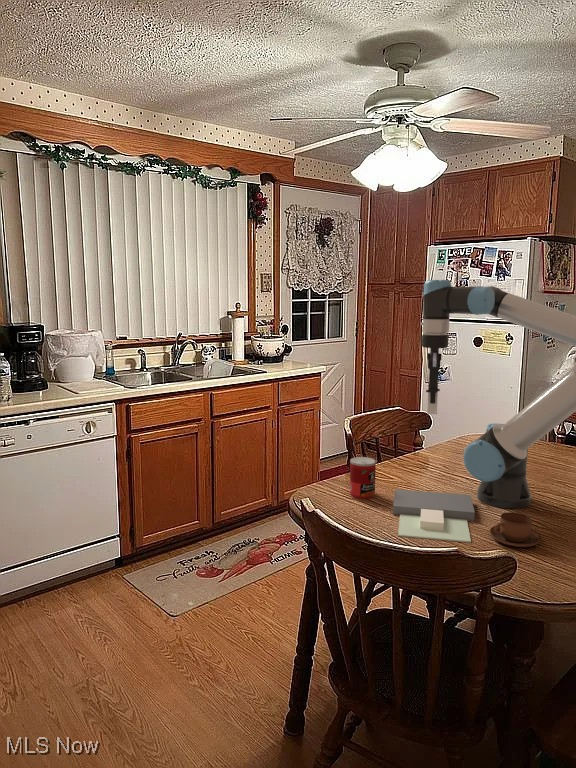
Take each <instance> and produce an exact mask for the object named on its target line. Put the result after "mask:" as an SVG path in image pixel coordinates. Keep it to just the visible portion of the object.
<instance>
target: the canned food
mask: <svg viewBox="0 0 576 768" xmlns="http://www.w3.org/2000/svg"><path fill="white" fill-rule="evenodd" d="M376 462H377V461H376V460H375V459H374V458H371V457H367V456H356V457H352V458H350V461H349V463H350V464H349V493H350V495H351V497H352V498H356V499H360V500H363V499H364V500H367V499H372V498H373V497H375V494H376V470H377V469H376V468H377V467H376Z"/></svg>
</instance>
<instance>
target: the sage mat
mask: <svg viewBox="0 0 576 768" xmlns="http://www.w3.org/2000/svg"><path fill="white" fill-rule="evenodd" d="M420 517H421V516H416V515H404V514H400V515H399V521H398V531H397V537H403V538H404V537H405V538H406V537H407V538H416V539H426V540H438V541H449V542H458V543H459V542H460V543H472V540H471V534H470V530H469V525H468V521H467V520H464V519H452V518H444V530H433V529H422V528H420Z"/></svg>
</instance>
